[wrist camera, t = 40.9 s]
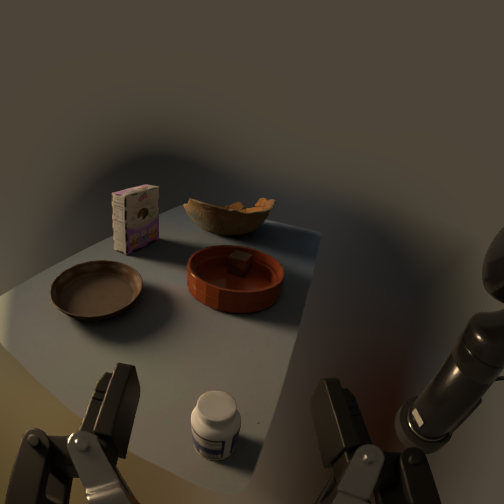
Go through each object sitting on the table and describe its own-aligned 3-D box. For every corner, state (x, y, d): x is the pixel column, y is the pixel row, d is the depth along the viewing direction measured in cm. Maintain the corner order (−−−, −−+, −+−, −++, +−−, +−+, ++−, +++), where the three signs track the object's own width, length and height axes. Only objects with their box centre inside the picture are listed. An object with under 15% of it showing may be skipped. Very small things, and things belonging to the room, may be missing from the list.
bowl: (290, 280, 70) (294, 260, 67) (261, 328, 51) (266, 304, 49) (215, 257, 76) (216, 238, 73) (168, 292, 57) (168, 270, 55)
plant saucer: (156, 316, 50) (155, 302, 48) (54, 337, 38) (49, 323, 37) (131, 266, 64) (130, 254, 63) (53, 279, 53) (50, 267, 51)
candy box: (145, 235, 83) (145, 183, 76) (159, 239, 81) (160, 186, 74) (113, 249, 71) (110, 192, 64) (127, 255, 69) (125, 195, 62)
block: (250, 270, 70) (252, 254, 68) (244, 278, 66) (246, 261, 64) (233, 265, 71) (235, 249, 69) (226, 273, 67) (228, 256, 66)
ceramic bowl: (219, 207, 113) (228, 173, 105) (276, 237, 103) (289, 201, 96) (164, 226, 89) (171, 183, 81) (229, 267, 80) (242, 221, 72)
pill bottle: (220, 420, 32) (224, 377, 28) (244, 449, 28) (255, 412, 24) (185, 436, 29) (180, 395, 25) (207, 467, 25) (208, 435, 21)
